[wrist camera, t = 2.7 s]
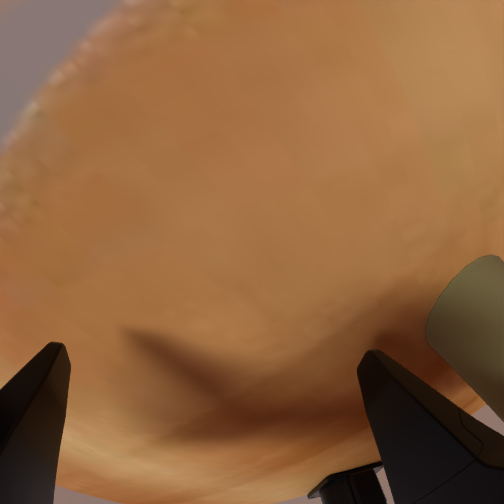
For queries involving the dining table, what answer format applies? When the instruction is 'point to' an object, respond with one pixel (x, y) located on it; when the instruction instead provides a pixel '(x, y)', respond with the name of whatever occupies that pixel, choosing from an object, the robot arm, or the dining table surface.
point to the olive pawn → (473, 328)
